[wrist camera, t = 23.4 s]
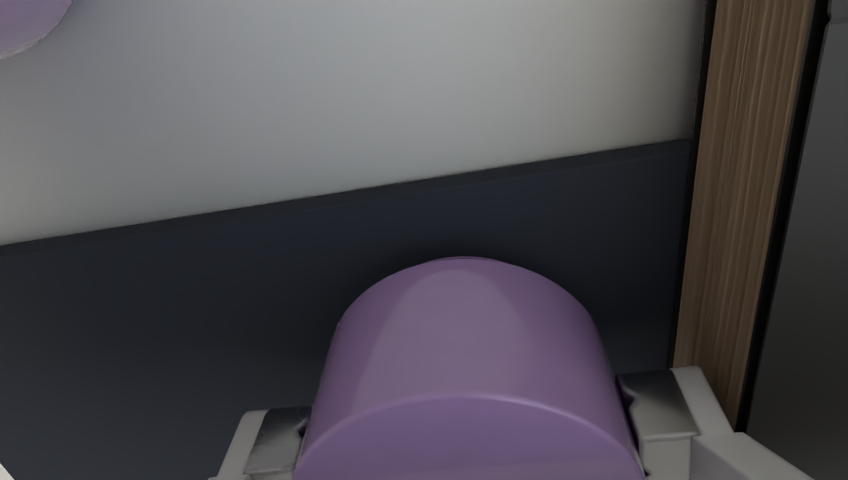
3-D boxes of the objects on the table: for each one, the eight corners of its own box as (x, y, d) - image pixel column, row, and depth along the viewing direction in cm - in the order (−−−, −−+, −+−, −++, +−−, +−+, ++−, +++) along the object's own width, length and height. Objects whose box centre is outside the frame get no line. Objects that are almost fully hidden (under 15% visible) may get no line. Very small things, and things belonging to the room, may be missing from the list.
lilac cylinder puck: (371, 439, 16) (341, 625, 12) (305, 251, 13) (234, 415, 9) (601, 418, 15) (653, 611, 11) (589, 210, 12) (654, 373, 8)
